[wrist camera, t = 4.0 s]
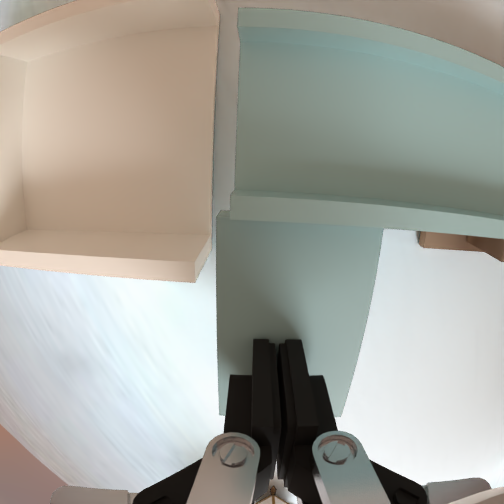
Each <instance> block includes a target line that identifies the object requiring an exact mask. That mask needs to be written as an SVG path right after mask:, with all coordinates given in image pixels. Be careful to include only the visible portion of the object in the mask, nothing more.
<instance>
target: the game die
mask: <svg viewBox="0 0 504 504" xmlns="http://www.w3.org/2000/svg"><path fill="white" fill-rule="evenodd" d="M270 490H271V495H270V496H268V497H266V498H264V499H262V500H260V501H259V502H257V503H255V504H289V503H287V502H286V501H284V500H282V499H281V498H279V497H277V496H276V495H275V493H276V490H277V489H275V487H274V486H273V487H272V488H271V489H270Z"/></svg>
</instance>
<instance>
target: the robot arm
mask: <svg viewBox="0 0 504 504" xmlns="http://www.w3.org/2000/svg"><path fill="white" fill-rule="evenodd" d="M276 459H277V476H278V479H284V487H288V491H290V492H291V493H292V494H294V495H295V496H297V503H298V504H504V487H499V488H494V489H491V487H490V485H489V483H488V482H487V481H486V480H484V479H482V478H468V479H461V480H453V481H443V482H431V483H427V484H426V485H424V486H421V485H419V484H418V483H416V482H414V481H412V480H410V479H408V478H406V477H403V476H401V475H399V474H397V473H395V472H393V471H391V470H389V469H387V468H385V467H383V466H381V465H379V464H377V463H375V462H373V461H371V460H369V458H368V456H367V454H366V452H365V450H364V448H363V446H362V444H361V443H360V441H359V440H358V439H357V438H356V437H354V436H353V435H352V434H349V433H347V432H343V431H338V430H337V426H336V422H335V418H334V414H333V410H332V406H331V402H330V398H329V394H328V390H327V386H326V382H325V379H324V376H323V375H309V373H308V368H307V363H306V358H305V353H304V349H303V344H302V340H301V339H286V340H285V343H279V350H278V361H276V349H275V343H269V339H253V358H252V375H233V374H230V377H229V386H228V396H227V405H226V415H225V424H224V434H221V435H218V436H216V437H215V438H213V439H212V440H211V441H210V442H209V444H208V446H207V448H206V451H205V453H204V456H203V458H202V459H200V460H198V461H196V462H195V463H193V464H191V465H189V466H188V467H186V468H184V469H182V470H181V471H179V472H177V473H175V474H173V475H171V476H169V477H168V478H166V479H164V480H162V481H160V482H158V483H156V484H154V485H152V486H150V487H148V488H146V489H144V490H142V491H141V492H140V493H129V492H128V490H112V489H98V488H87V487H78V486H62V487H60V488H58V489H56V491H54V492H53V494H52V497H51V500H50V504H255V502H256V500H257V499H258V498H259V497H261V496H262V495H263V494H264V493H266V492H267V491H268V486H269V480H270V479H273V477H274V471H275V465H276Z"/></svg>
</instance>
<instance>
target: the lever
mask: <svg viewBox="0 0 504 504" xmlns="http://www.w3.org/2000/svg"><path fill="white" fill-rule="evenodd" d="M237 28H238V33H239V37H240V60H239V81H238V105H237V130H236V159H235V190H234V191H233V193H232V194H231V196H230V211H223V210H221V211H220V212H219V214H218V215H217V218H216V305H217V359H218V392H219V415H223V416H225V415H226V405H227V396H228V386H229V377H230V374H233V375H252V358H253V339H269V343H275V349H276V361H278V350H279V343H285V340H286V339H301V340H302V344H303V349H304V353H305V358H306V363H307V368H308V373H309V375H323V376H324V379H325V382H326V386H327V390H328V394H329V398H330V402H331V406H332V410H333V414H334V417H341V415H342V412H343V409H344V405H345V402H346V399H347V395H348V392H349V389H350V385H351V382H352V378H353V375H354V371H355V367H356V364H357V360H358V356H359V352H360V348H361V344H362V340H363V336H364V331H365V327H366V323H367V318H368V314H369V309H370V304H371V299H372V294H373V289H374V284H375V278H376V273H377V267H378V261H379V255H380V249H381V242H382V235H383V228H388V229H401V230H413V231H425V232H437V233H448V234H459V235H469V236H479V237H489V238H498V239H504V67H502V66H500V65H498V64H496V63H494V62H492V61H490V60H488V59H485V58H483V57H481V56H478V55H476V54H474V53H471V52H469V51H467V50H464V49H461V48H459V47H456V46H454V45H451V44H448V43H445V42H443V41H440V40H437V39H434V38H431V37H428V36H425V35H421V34H418V33H415V32H411V31H408V30H404V29H401V28H397V27H393V26H389V25H385V24H381V23H376V22H372V21H367V20H362V19H357V18H351V17H346V16H340V15H333V14H326V13H319V12H310V11H300V10H289V9H272V8H238V23H237Z"/></svg>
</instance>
